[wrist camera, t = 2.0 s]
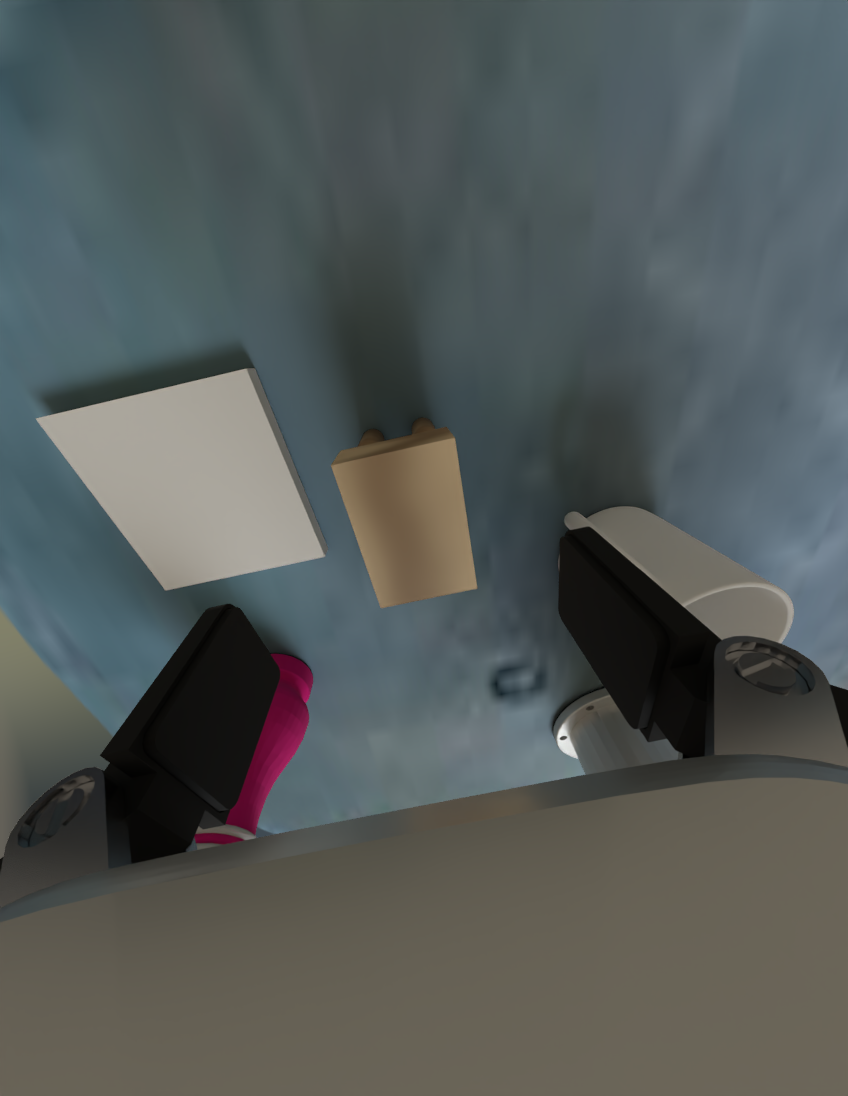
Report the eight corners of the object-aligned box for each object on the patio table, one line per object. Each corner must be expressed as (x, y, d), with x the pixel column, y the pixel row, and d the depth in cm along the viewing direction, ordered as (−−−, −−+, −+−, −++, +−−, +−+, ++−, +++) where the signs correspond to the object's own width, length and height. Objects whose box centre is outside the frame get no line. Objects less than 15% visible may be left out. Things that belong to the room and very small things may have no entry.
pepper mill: (230, 648, 28) (-31, 1093, 11) (315, 648, 29) (195, 1066, 12) (246, 701, 32) (67, 1101, 15) (321, 700, 33) (236, 1081, 15)
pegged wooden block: (433, 410, 20) (454, 437, 13) (452, 518, 24) (477, 588, 16) (355, 428, 20) (331, 465, 13) (385, 532, 24) (380, 608, 17)
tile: (254, 368, 18) (246, 368, 17) (328, 548, 24) (324, 556, 23) (55, 415, 19) (35, 418, 18) (175, 581, 25) (165, 590, 24)
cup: (593, 607, 29) (678, 713, 20) (502, 534, 25) (560, 628, 16) (677, 542, 26) (817, 633, 18) (590, 447, 22) (719, 503, 13)
